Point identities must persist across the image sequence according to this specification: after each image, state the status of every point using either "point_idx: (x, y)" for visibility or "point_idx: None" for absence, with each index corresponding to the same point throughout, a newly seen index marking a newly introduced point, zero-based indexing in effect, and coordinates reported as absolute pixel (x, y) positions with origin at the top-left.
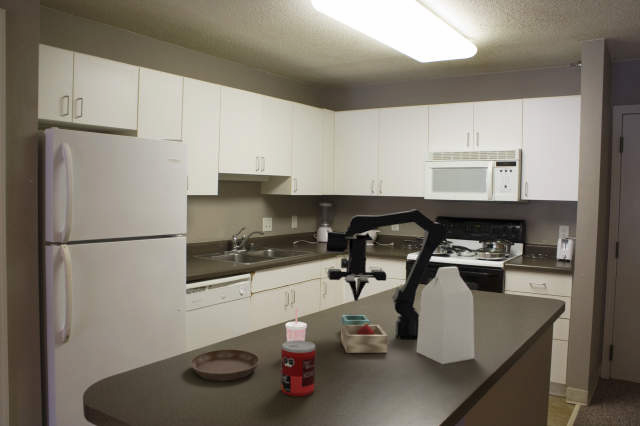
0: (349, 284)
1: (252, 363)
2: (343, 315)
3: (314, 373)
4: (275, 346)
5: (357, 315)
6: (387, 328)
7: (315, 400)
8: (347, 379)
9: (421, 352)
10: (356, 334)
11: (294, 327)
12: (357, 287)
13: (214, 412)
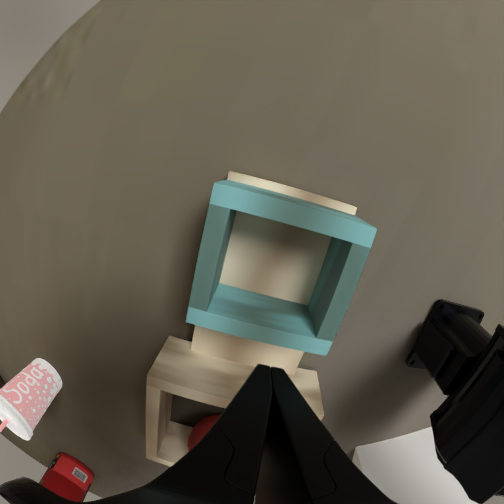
0: (157, 478)
1: (2, 384)
2: (222, 197)
3: (86, 493)
4: (6, 299)
5: (323, 225)
6: (455, 215)
7: (98, 484)
8: (140, 480)
9: (354, 459)
10: (188, 442)
11: (12, 430)
12: (279, 499)
13: (21, 445)
